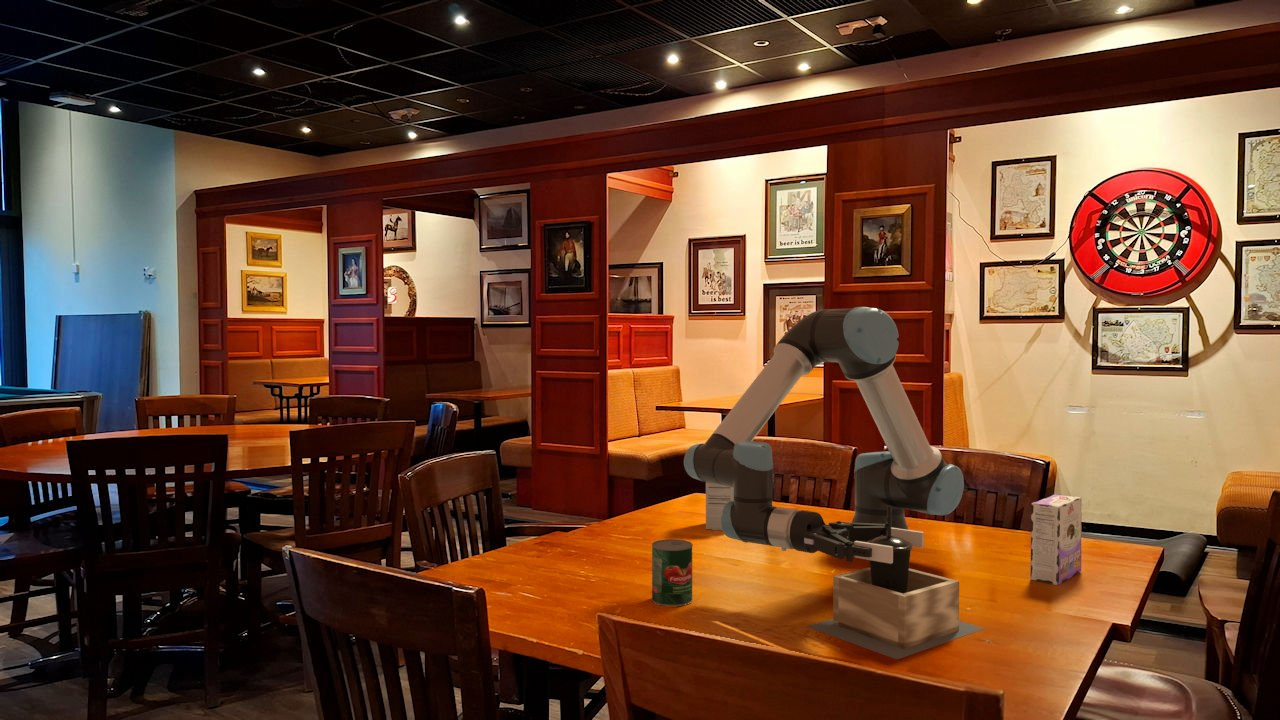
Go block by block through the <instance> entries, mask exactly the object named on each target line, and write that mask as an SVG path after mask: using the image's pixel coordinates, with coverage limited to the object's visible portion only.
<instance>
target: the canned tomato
mask: <svg viewBox="0 0 1280 720" xmlns="http://www.w3.org/2000/svg"><path fill="white" fill-rule="evenodd" d="M651 567H652V569H651V596H652V597H651V602H652V601H653V602H654V604H655V603H656V604H655V605H657V604H659V605H658V606H660V605H664V606H663V607H666V606H679V607H681V606H680V605H685V604H688V603H690V602H691V603H692V602H693V601H692V600H693V543H692V542H691V541H689V540H684V539H676V538H675V539H674V538H672V539H667V538H666V539H659V540H656V541H654V542H652V544H651ZM653 602H652V603H653ZM691 603H690V604H691ZM688 605H689V604H688ZM685 606H686V605H685Z"/></svg>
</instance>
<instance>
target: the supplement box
mask: <svg viewBox="0 0 1280 720" xmlns="http://www.w3.org/2000/svg"><path fill="white" fill-rule="evenodd" d="M730 501H734V488H733V487H729V486H724V485H720V484H715V483H710V482H705V530H706V529H712V530H711V531H723V530H722V528H721V516H722V514H723V512H722V510H723V508H724V506H725V505H726V504H727V503H728V502H730Z"/></svg>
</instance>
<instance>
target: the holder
mask: <svg viewBox="0 0 1280 720" xmlns="http://www.w3.org/2000/svg"><path fill="white" fill-rule="evenodd" d="M832 578H833V582H832V583H833V584H832V590H833V591H832V592H833V593H832V597H833V601H832V603H833V604H832V605H833V607H832V610H833V611H832V613H833V615H832V619H833V624H834V625H837V626H840V627H843V628H845V629H848V630H851V631H854V632H857V633H860V634H862V635H865V636H868V637H871V638H874V639H877V640H880V641H882V642H885V643H888V644H891V645H894V646H897V647H900V648H902V649H906V648H909V647H912V646H915V645H918V644H921V643H924V642H927V641H930V640H933V639H936V638H939V637H941V636H944V635H947V634H950V633H953V632H956V631H959V621H960V580H957V579H952V578H948V577H945V576H940V575H937V574H933V573H928V572H925V571H921V570H917V569H913V568H910V567H909V573H908V584H907V593H904V594H902V593H899V592H895V591H892V590H888V589H885V588H882V587H878V586H875V585H872V580H871V570H870V566H869V567H865V568H860V569H857V570H854V571H849V572H844V573H840V574H837V575H833V577H832Z"/></svg>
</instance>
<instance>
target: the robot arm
mask: <svg viewBox="0 0 1280 720" xmlns="http://www.w3.org/2000/svg"><path fill="white" fill-rule="evenodd" d="M899 336H900V335H899V331H898V327H897V325H896V322H895V321H894V320H893V318H892V317H891V316H890V315H889V313H887V312H886V311H884V310H882V309H879V308H876V307H867V306H857V307H853V308H832V309H831V308H824V309H823V308H822V309H817V310H816V311H813V312H811V313H809V314H807V315H805V316H804V317H802V318H801V319H800V320H798V322H796V323H794V325H793V326H792V327H790V329H789V330H787V332H786V333H785V334H784V335H782V338H780V339H779V340H778V342H777V343H776V345H775V346H774V347H773V356H772V357H771V359H769V361H768V362H767V363H766V365H765V366H764V367H763V368H762V369H761V371H760V372H759V373H758V375H757V376H756V377H755V379H754V380H753V381H752V383H751V384H750V385H749V386H748V387H747V389H746V390H745V391H744V393H743V395H742V396H740V398H739V399H738V400H737V402H736V403H735V405H733V407H732V408H731V409H730V411H728V413H727V414H726V416H725V417H724V418H723V420H721V422H720V424H719V425H718V426H717V427H716V428H715V430H714V431H713V433H712V434H711V435H710V437H709V438H707V440H706V441H705V442H704V443H696V444H693V445H692V446H690V447H689V448H688V449H687V450H686V452H685V454H684V457H683V466H684V470H685V472H686V473H687V475H688V476H690V477H691V478H692V479H695V480H698V481H701V483H706V482H710V483H715V484H720V485H724V486H729V487H733V488H734V501H730V502H728V503H727V504H726V505H725V506H724V508H723V510H722V512H723V514H722V516H721V528H722V530H721V531H722V532H723V534H724V535H725V536H726V537H727V538H729V539H733V540H737V541H739V542H740V541H741V542H743V543H750V544H757V545H764V546H769V547H775V548H776V547H777V548H781V551H783V552H786V551H787V550H795V551H798V552H803V553H808V554H814V553H816V552H820V553H822V554H826V555H827V556H831V557H833V558H836V559H839V560H844V559H845V562H848V563H852V562H853V561H854V558H855V559H861V560H867V561H870V560H872V561H878V562H884V563H890V564H892V563H893V546H886V545H880V544H873V543H867V541H869V540H871V539H874V538H876V537H879V536H887V507H891V536H895V537H899V538H902V539H904V540H905V541H907V542H910V543H911V544H912V548H913V547H914V548H920V549H923V548H924V547H925V546H924V545H925V542H924V541H925V539H924V538H925V537H924V536H925V535H924V534H925V532H924V531H919V530H913V529H912V530H911V529H910V528H909V527H908V524H907V521H906V517H905V509H906V510H909V511H913V512H914V511H915V512H919V513H922V514H928V515H932V516H933V515H935V516H936V515H937V516H946V515H949V514H951V513H953V511H955V509H957V507H958V506H959V505H960V502H961V500H962V497H963V492H964V489H965V488H964V486H965V483H964V482H965V481H964V480H965V479H964V474H963V471H962V470H961V468H960V467H958V466H957V465H954V464H951V463H949V464H948V463H946V461H945V459H944V457H943V455H942V452H941V451H940V450H939V448H937V447H935V446H933V445H930V443H929V441H928V438H927V436H926V434H925V432H924V430H923V427H922V426H921V423H920V422H919V420H918V419H919V418H918V417H917V415H916V412H915V411H914V409H913V408H914V407H913V406H912V404H911V401H910V399H909V397H908V395H907V393H906V391H905V389H904V387H903V384H902V383H901V380H900V378H899V376H898V373H897V371H896V369H895V367H894V363H895V362H896V358H897V353H898V349H899V346H900V345H899V344H900V342H899V341H898V338H900V337H899ZM822 363H837V364H838V365H839V367H840V369H841V371H842V374H843V375H844V377H845V378H846V379H847V380H850V381H852V382H853V381H854V382H855V383H856V385H857V387H858V389H859V392H860V394H861V396H862V398H863V400H864V401H865V405H866V406H867V408H868V410H869V412H870V415H871V417H872V419H873V420H874V423H875V425H876V427H877V428H878V429H877V430H878V431H879V433H880V435H881V437H882V439H883V441H884V444H885V446H886V447H887V450H888V451H886V450H885V451H873V452H865V453H864V452H863V453H860V454H858V455H857V456H856V458H855V461H854V470H853V472H854V515H853V518H852V521H851V522H850V521H849V522H847V521H841V520H838V521H836V522H835V521H833V522H832V521H831V522H828V524H826V522H825V521H824V518H823V516H822V515H821V513H819V512H816V511H811V510H799V509H797V508H790V507H782V506H774V505H773V483H774V481H773V479H774V476H773V474H774V462H773V449H772V446H771V444H769V443H768V442H763V441H754V439H755V438H756V436H757V435H758V434H759V433H760V432H761V430H762V429H763V427H764V426H765V425H766V423H767V422H768V421H769V420H770V418H771V417H772V416H773V414H774V413H775V412H776V410H777V409H778V408H779V406H780V405H781V404H782V402H784V400H785V398H787V396H788V395H789V393H790V392H791V391H792V389H793V388H794V386H795V385H796V384H797V383H798V381H799V380H800V379H801V377H802V376H807V375H809V374H810V373H811V372H812V370H813V369H814V368H815V367H816V366H819V365H820V364H822Z"/></svg>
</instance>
